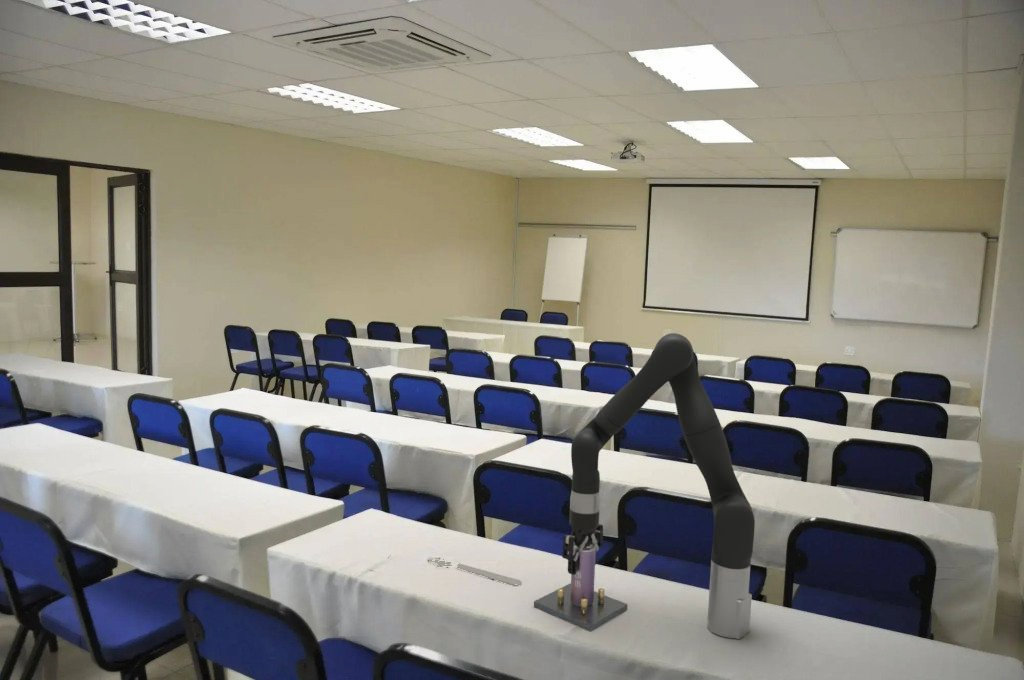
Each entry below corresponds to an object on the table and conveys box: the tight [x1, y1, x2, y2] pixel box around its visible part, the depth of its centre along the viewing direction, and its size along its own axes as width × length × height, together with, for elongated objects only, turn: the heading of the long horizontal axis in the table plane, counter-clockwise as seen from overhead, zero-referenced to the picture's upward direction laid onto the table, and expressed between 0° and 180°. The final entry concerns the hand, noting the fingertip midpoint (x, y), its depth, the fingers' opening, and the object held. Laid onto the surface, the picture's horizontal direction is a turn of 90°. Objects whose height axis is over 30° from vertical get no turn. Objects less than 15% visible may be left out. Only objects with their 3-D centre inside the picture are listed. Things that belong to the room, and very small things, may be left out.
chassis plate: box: [533, 582, 629, 632], centre depth 188 cm, size 18×16×5 cm
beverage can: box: [570, 544, 596, 607], centre depth 188 cm, size 6×6×15 cm
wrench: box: [428, 558, 523, 587], centre depth 209 cm, size 8×32×1 cm, turn 59°
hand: (582, 568), depth 187 cm, fingers open, 8 cm apart
